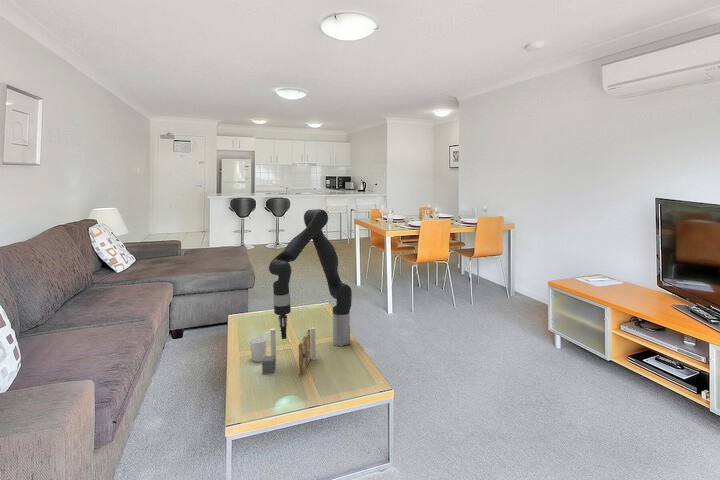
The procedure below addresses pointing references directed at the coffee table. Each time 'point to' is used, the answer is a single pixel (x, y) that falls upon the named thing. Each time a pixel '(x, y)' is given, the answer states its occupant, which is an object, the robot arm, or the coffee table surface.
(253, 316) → the coffee table surface
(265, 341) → the white cup
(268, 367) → the grey cube-like block
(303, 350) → the door
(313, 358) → the door frame
